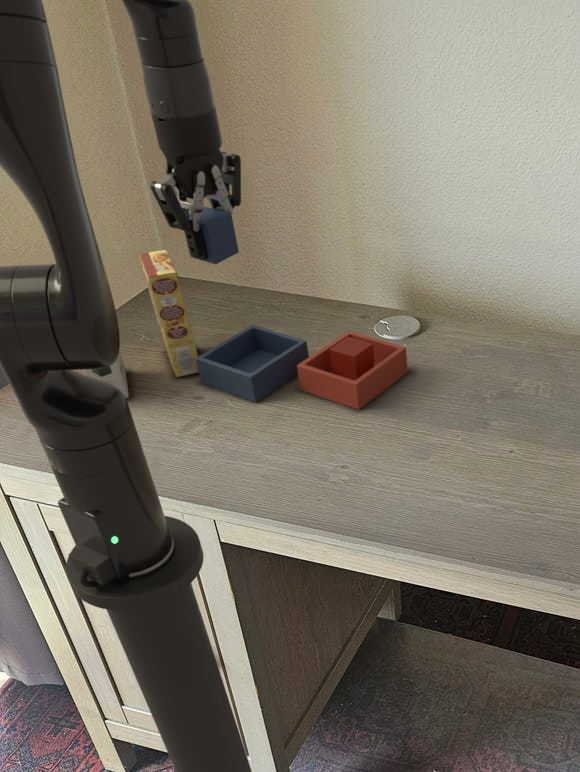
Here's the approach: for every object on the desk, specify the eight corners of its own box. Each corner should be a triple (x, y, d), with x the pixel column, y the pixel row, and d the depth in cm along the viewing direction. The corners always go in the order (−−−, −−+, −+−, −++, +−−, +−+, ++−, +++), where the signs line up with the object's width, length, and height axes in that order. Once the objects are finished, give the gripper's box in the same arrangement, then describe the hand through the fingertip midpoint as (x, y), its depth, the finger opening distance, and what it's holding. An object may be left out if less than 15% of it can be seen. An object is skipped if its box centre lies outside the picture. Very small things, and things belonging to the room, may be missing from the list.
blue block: (216, 264, 112) (207, 224, 109) (190, 257, 114) (180, 217, 110) (239, 252, 115) (231, 213, 111) (213, 245, 117) (205, 206, 113)
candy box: (203, 373, 130) (178, 271, 119) (175, 378, 129) (147, 276, 118) (192, 347, 136) (167, 248, 125) (165, 352, 135) (137, 253, 124)
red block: (358, 388, 126) (354, 356, 123) (333, 380, 128) (329, 348, 124) (375, 375, 129) (372, 343, 126) (351, 367, 131) (348, 336, 127)
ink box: (93, 375, 130) (66, 299, 121) (127, 370, 131) (103, 294, 122) (93, 404, 124) (66, 326, 116) (129, 399, 125) (104, 320, 117)
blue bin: (255, 402, 125) (250, 377, 122) (201, 383, 128) (195, 358, 125) (310, 365, 132) (306, 340, 129) (257, 348, 136) (252, 324, 133)
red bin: (358, 409, 123) (356, 384, 120) (300, 390, 127) (296, 365, 124) (407, 372, 131) (406, 347, 128) (351, 354, 135) (348, 330, 132)
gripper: (200, 85, 107) (229, 227, 120) (113, 115, 99) (154, 264, 111) (246, 94, 105) (271, 238, 117) (161, 125, 96) (197, 277, 109)
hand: (214, 250), depth 114 cm, fingers closed on blue block, 4 cm apart
